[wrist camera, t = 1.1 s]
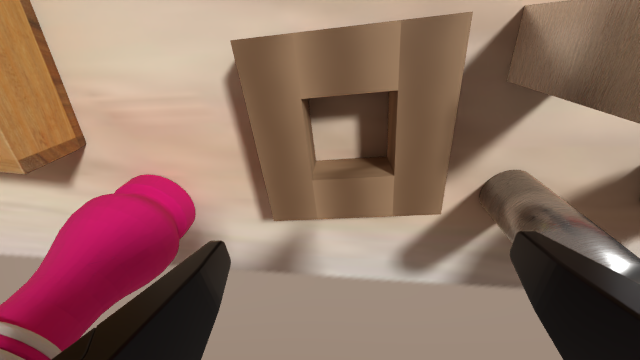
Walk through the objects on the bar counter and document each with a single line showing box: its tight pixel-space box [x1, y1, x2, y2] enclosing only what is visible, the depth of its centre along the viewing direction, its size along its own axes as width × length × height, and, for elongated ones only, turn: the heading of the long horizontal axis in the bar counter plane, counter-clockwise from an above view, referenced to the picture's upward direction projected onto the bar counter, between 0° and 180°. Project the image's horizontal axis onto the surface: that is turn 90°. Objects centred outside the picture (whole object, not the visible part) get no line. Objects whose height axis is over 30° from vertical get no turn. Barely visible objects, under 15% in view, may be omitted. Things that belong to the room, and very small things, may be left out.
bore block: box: [231, 12, 473, 221], centre depth 17 cm, size 12×12×3 cm
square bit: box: [507, 0, 640, 123], centre depth 11 cm, size 4×4×9 cm
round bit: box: [479, 170, 640, 284], centre depth 17 cm, size 4×4×9 cm
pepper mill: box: [0, 175, 195, 360], centre depth 15 cm, size 7×7×20 cm
